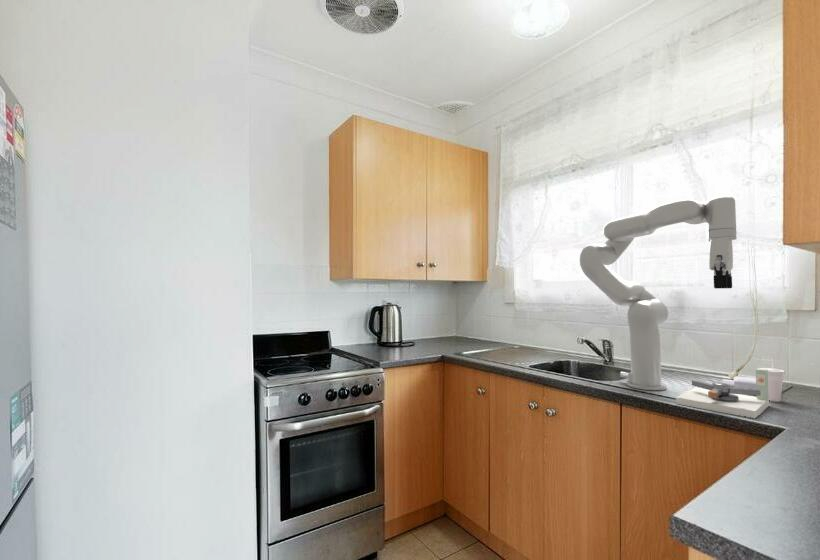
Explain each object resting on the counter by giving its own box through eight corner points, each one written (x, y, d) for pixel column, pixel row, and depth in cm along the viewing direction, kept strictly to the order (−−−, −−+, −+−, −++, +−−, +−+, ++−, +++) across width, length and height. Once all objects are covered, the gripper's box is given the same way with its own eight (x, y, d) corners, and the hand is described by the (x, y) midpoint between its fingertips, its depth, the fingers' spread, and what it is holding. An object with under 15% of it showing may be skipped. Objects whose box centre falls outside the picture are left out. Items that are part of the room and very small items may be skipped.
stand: (675, 403, 123) (674, 368, 123) (695, 393, 135) (694, 361, 135) (755, 418, 108) (754, 378, 109) (769, 405, 120) (768, 369, 121)
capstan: (677, 397, 122) (677, 383, 122) (693, 389, 131) (692, 376, 132) (750, 410, 109) (749, 394, 109) (761, 400, 118) (761, 386, 118)
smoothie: (791, 403, 122) (789, 358, 123) (767, 402, 124) (766, 357, 124) (776, 397, 129) (775, 354, 129) (754, 396, 130) (752, 354, 130)
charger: (715, 386, 146) (769, 392, 137) (715, 391, 138) (772, 398, 129) (714, 373, 146) (769, 378, 137) (714, 377, 139) (772, 383, 129)
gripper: (712, 239, 136) (714, 288, 136) (701, 234, 124) (703, 288, 124) (740, 236, 131) (742, 288, 130) (731, 231, 119) (733, 288, 118)
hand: (723, 288), depth 127 cm, fingers open, 9 cm apart
